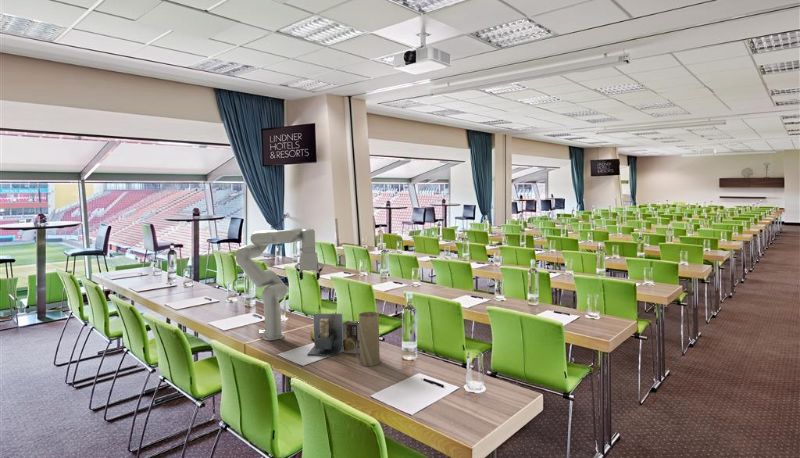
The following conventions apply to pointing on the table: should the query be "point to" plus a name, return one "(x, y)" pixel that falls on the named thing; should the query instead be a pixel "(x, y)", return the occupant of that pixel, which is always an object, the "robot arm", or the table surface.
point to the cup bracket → (335, 339)
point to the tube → (369, 338)
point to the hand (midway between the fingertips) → (309, 279)
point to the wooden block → (324, 328)
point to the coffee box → (351, 337)
